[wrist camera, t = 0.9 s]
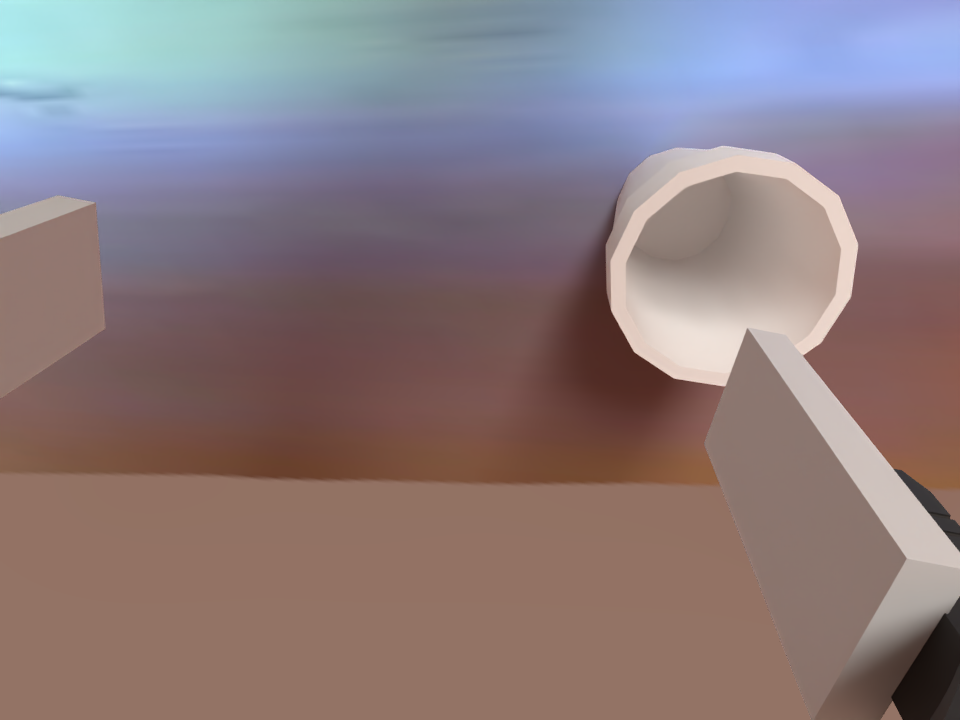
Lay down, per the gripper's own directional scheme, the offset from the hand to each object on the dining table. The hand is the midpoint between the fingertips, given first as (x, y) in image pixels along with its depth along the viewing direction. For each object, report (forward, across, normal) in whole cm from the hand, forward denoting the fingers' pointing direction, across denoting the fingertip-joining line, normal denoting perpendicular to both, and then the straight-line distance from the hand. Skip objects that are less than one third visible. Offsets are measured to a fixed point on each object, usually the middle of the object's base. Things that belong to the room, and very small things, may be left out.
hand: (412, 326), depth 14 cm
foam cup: (+27, +10, -2) cm, 29 cm away
